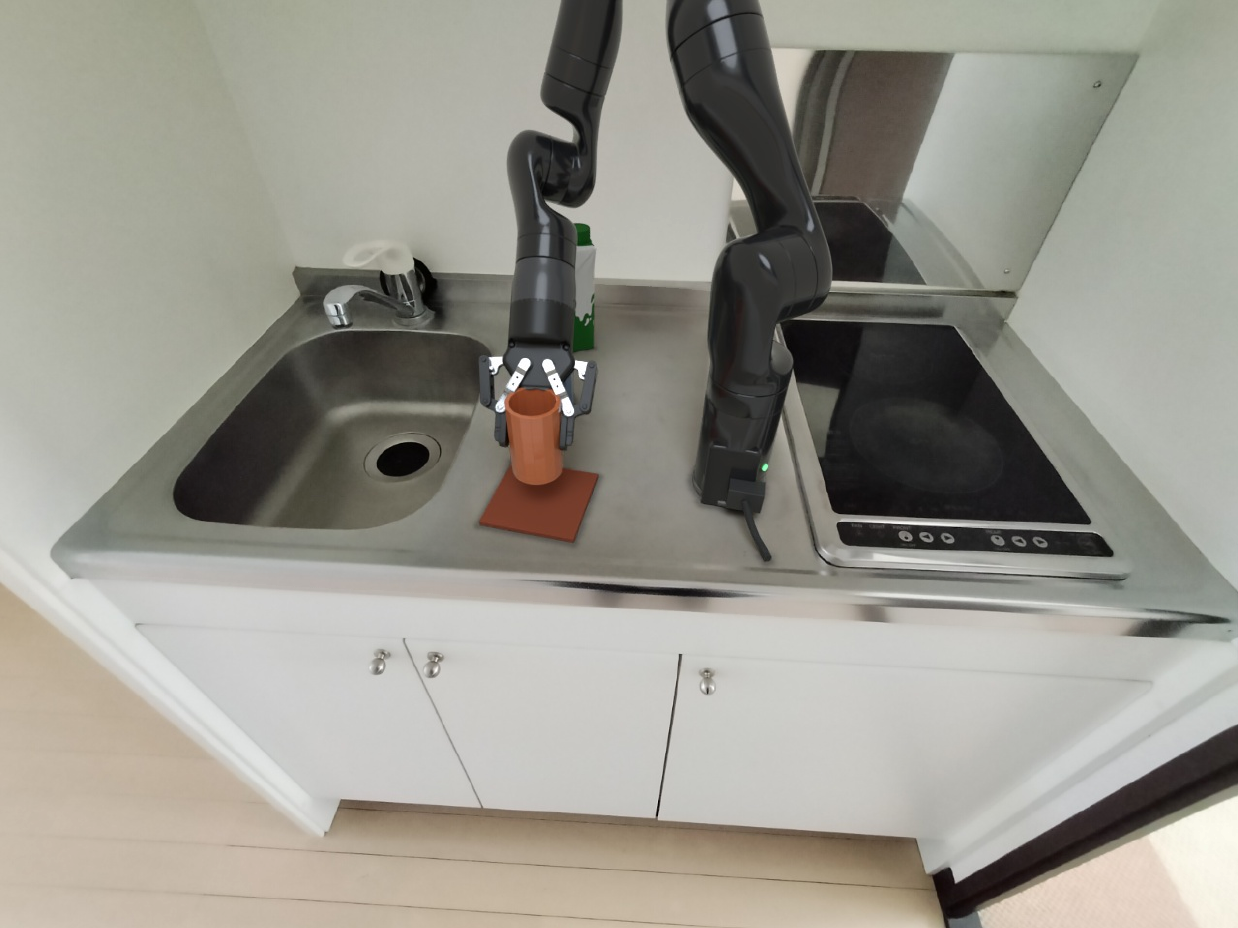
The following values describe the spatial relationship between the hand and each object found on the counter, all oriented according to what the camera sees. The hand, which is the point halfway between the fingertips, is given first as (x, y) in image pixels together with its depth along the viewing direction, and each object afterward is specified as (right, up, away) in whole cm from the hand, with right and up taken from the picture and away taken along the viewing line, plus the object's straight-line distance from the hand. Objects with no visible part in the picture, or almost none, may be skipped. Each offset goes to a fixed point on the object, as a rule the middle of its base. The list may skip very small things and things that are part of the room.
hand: (533, 448), depth 69 cm
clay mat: (0, -6, +8) cm, 10 cm away
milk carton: (+1, +20, +38) cm, 43 cm away
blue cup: (0, +8, +24) cm, 25 cm away
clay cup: (0, -2, +4) cm, 5 cm away
